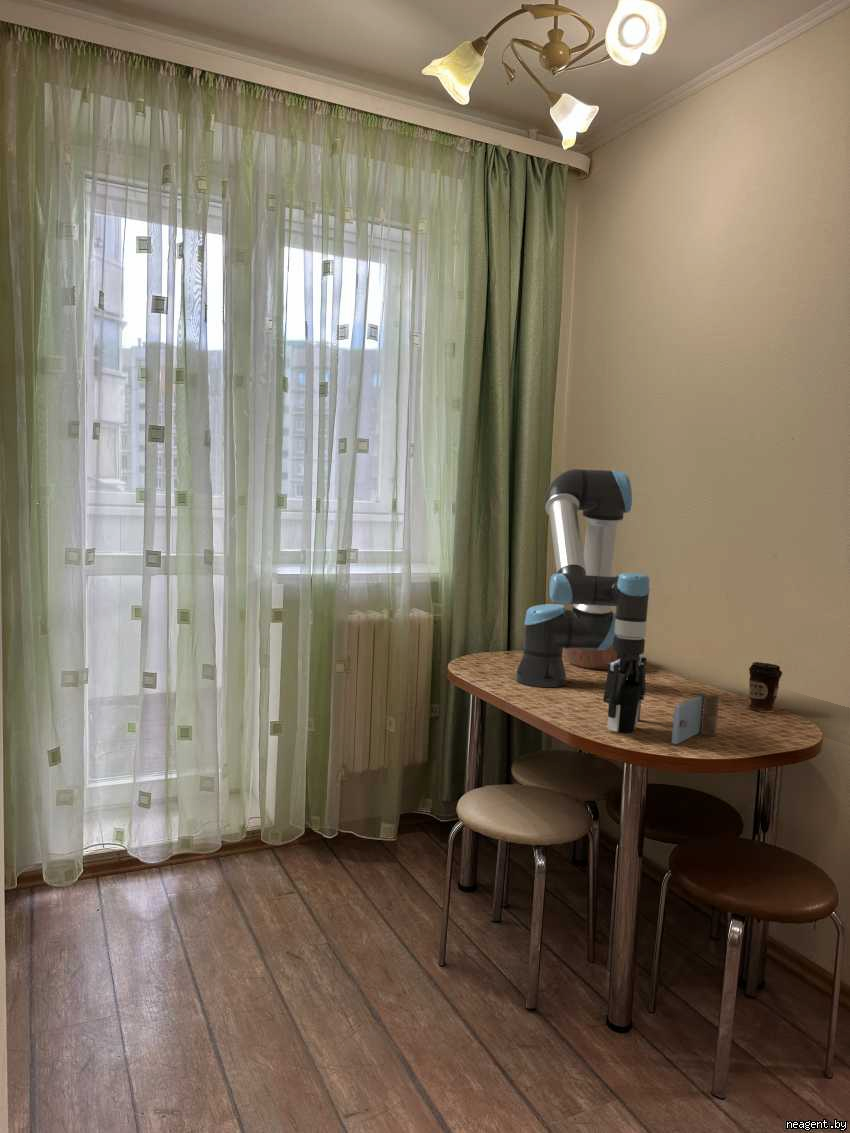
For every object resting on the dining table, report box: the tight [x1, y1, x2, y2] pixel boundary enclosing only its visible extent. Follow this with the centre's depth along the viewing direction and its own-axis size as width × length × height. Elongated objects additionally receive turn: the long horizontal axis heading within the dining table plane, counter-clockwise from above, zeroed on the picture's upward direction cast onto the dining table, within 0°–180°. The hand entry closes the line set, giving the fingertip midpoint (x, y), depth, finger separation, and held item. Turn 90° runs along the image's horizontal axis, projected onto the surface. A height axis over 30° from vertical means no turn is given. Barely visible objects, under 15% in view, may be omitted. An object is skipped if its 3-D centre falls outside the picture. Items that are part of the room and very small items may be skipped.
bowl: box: [562, 635, 617, 671], centre depth 288 cm, size 25×25×11 cm
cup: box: [614, 679, 642, 734], centre depth 212 cm, size 8×8×12 cm
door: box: [671, 691, 706, 745], centre depth 208 cm, size 16×2×10 cm, turn 140°
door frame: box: [637, 692, 720, 737], centre depth 217 cm, size 22×2×10 cm, turn 59°
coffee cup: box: [748, 661, 783, 713], centre depth 239 cm, size 9×8×13 cm
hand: (622, 727), depth 213 cm, fingers closed on cup, 8 cm apart
